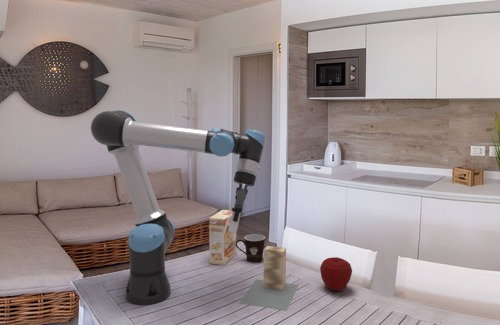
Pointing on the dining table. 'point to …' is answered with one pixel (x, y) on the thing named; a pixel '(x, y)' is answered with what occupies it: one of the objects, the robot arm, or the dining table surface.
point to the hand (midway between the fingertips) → (231, 232)
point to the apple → (335, 273)
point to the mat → (269, 296)
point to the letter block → (274, 267)
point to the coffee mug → (253, 247)
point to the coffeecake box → (221, 238)
